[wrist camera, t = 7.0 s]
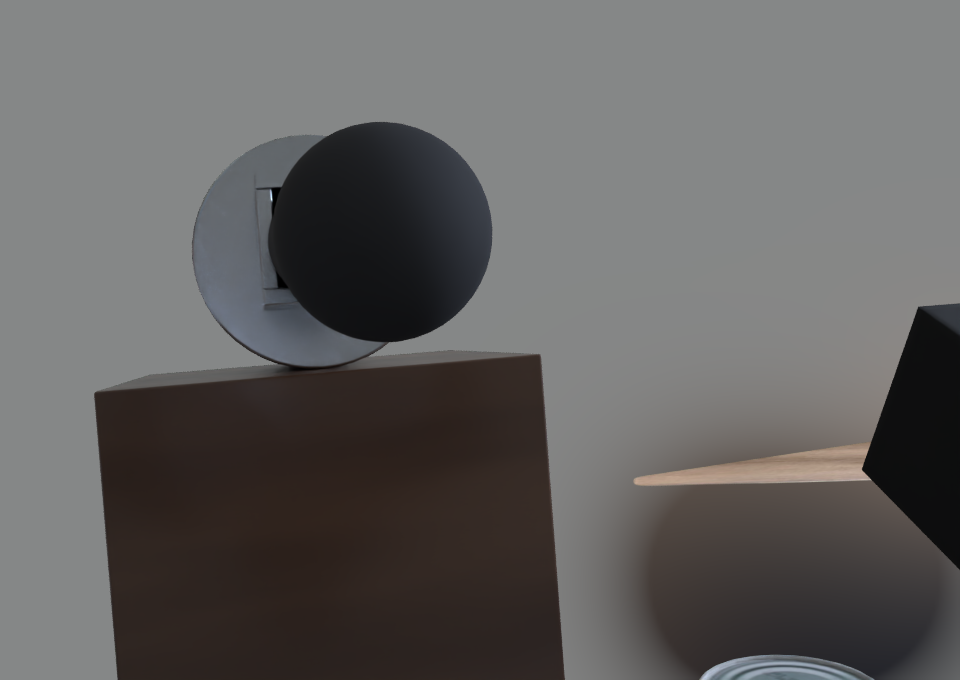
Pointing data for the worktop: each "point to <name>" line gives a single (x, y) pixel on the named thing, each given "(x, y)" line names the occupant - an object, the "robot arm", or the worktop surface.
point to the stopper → (381, 232)
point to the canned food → (782, 669)
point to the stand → (333, 521)
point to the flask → (261, 265)
